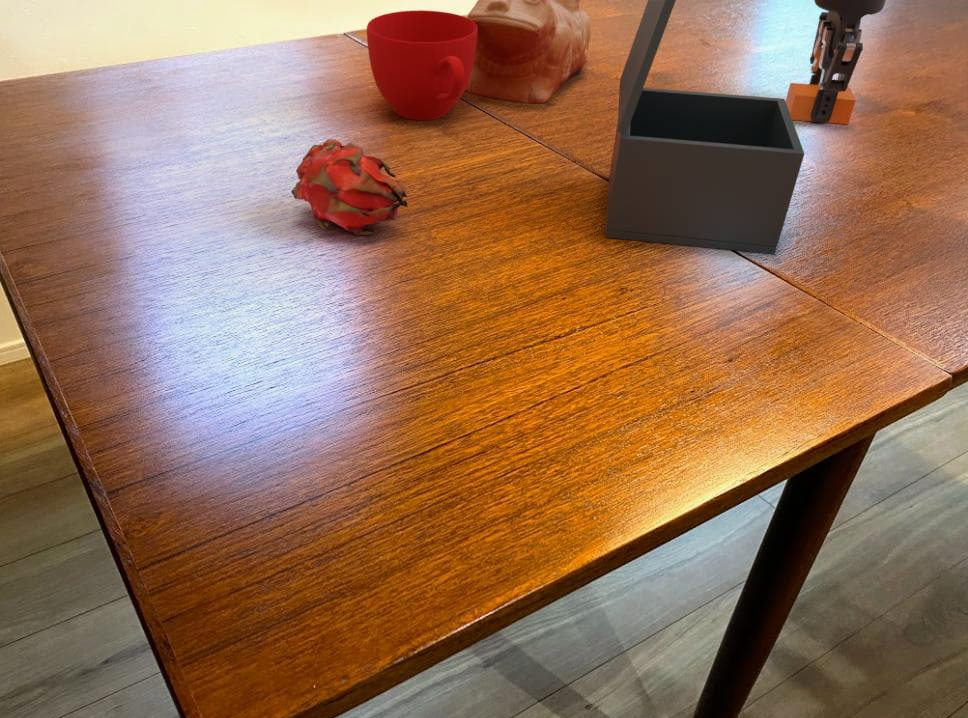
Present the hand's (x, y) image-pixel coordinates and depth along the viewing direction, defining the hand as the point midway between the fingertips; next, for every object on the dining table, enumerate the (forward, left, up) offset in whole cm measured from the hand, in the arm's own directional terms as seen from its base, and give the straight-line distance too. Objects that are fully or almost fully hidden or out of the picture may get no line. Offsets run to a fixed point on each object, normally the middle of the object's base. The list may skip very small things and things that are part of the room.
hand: (816, 112), depth 109 cm
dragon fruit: (+49, +40, -1) cm, 63 cm away
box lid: (+23, +31, +18) cm, 42 cm away
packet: (0, 0, 0) cm, 0 cm away
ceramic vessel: (+37, -5, -1) cm, 37 cm away
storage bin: (+17, +31, 0) cm, 35 cm away
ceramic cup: (+47, +11, -1) cm, 48 cm away
